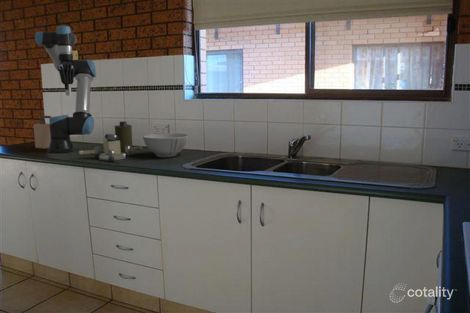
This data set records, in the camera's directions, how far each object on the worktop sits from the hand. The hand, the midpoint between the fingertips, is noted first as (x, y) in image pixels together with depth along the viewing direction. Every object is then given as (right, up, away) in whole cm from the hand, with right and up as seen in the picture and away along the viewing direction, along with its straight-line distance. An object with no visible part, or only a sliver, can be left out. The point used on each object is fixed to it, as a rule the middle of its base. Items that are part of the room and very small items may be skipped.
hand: (68, 95), depth 247 cm
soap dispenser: (-34, -29, +48) cm, 65 cm away
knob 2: (+36, -34, +10) cm, 51 cm away
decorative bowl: (+56, -35, +9) cm, 66 cm away
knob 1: (+31, -38, -11) cm, 51 cm away
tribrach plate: (+25, -36, +1) cm, 44 cm away
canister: (+28, -34, +17) cm, 47 cm away
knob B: (+12, -36, +2) cm, 38 cm away
